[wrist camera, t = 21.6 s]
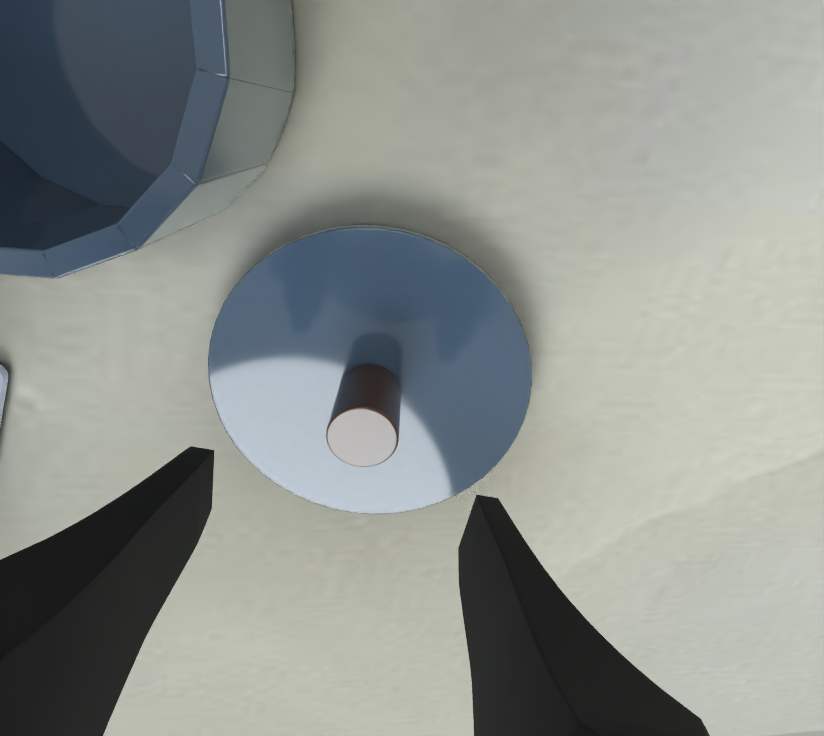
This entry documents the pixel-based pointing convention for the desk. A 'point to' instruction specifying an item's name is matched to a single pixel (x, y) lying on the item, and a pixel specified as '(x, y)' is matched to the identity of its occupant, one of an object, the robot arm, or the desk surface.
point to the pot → (132, 121)
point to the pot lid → (370, 369)
